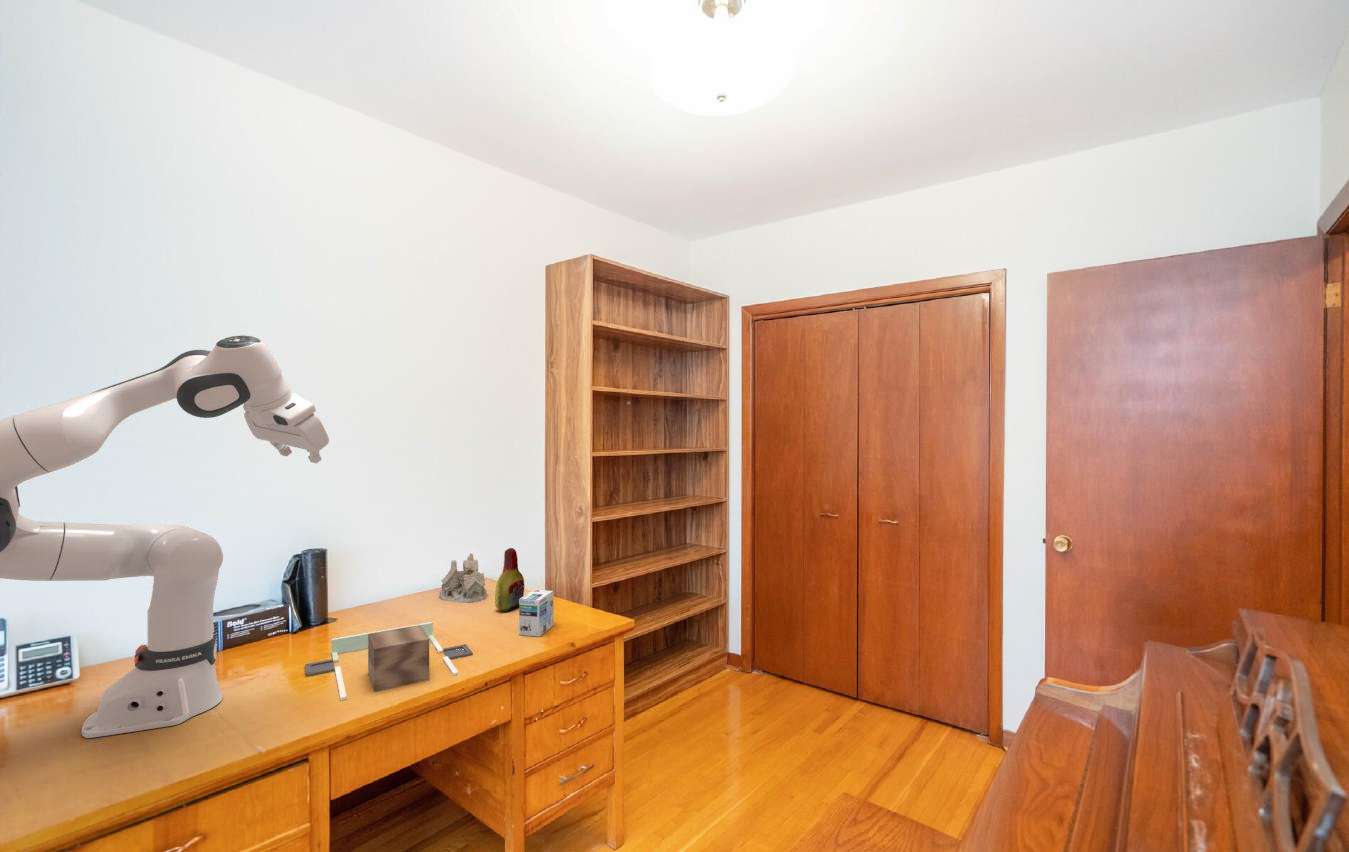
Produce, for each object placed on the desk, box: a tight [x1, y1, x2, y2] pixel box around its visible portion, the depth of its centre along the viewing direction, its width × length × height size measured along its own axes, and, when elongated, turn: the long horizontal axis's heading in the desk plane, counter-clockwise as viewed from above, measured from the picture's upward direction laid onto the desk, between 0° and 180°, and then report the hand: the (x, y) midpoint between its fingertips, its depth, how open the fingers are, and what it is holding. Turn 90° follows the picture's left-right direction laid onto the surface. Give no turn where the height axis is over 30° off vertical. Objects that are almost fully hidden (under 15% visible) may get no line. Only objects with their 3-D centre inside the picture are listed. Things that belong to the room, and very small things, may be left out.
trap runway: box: [304, 621, 474, 701], centre depth 153 cm, size 38×32×4 cm
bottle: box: [494, 547, 525, 612], centre depth 199 cm, size 12×6×20 cm, turn 150°
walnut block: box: [367, 624, 430, 693], centre depth 146 cm, size 12×12×10 cm
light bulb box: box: [518, 589, 555, 638], centre depth 178 cm, size 11×7×11 cm, turn 168°
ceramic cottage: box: [438, 553, 488, 604], centre depth 212 cm, size 16×16×15 cm
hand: (301, 457), depth 135 cm, fingers open, 8 cm apart
